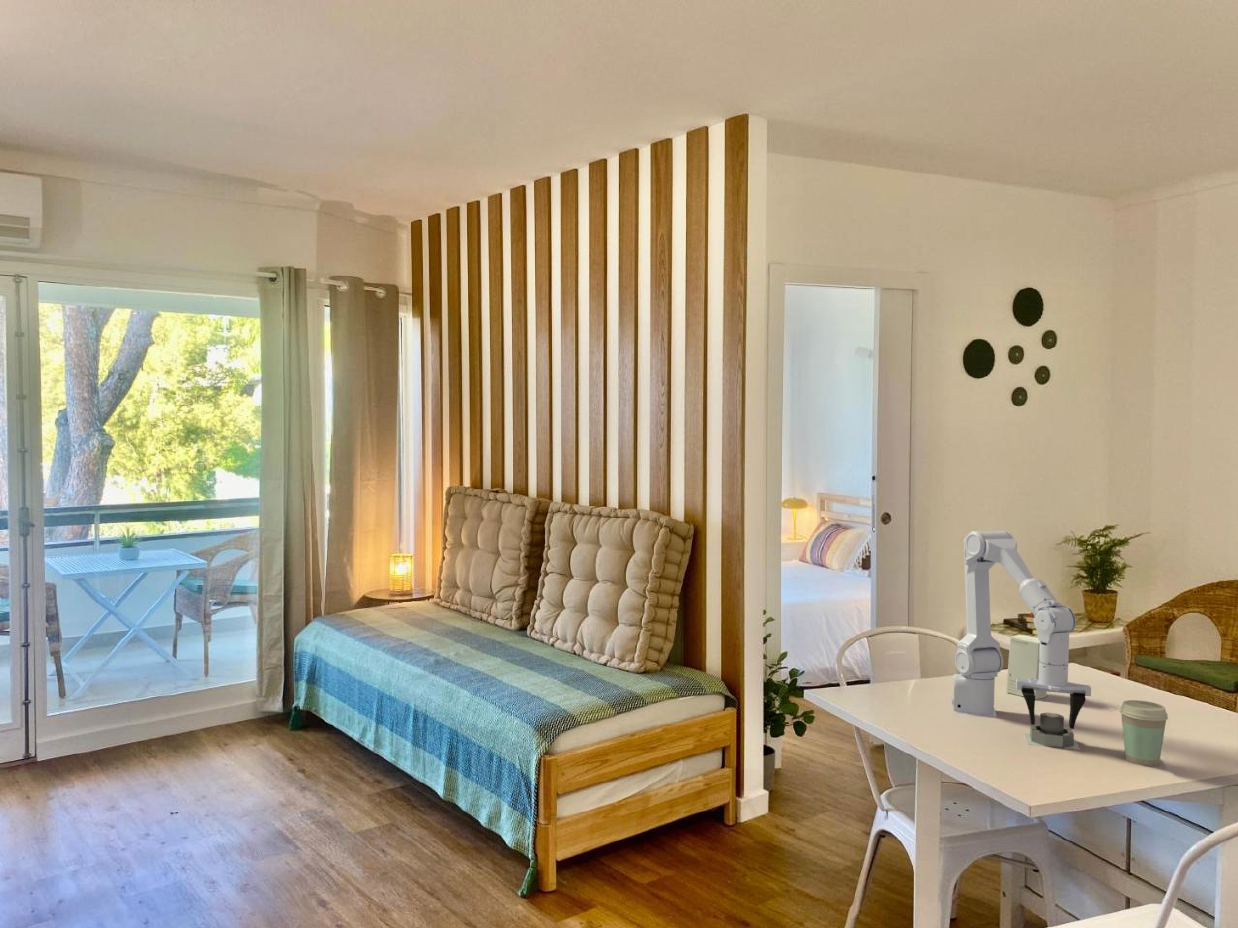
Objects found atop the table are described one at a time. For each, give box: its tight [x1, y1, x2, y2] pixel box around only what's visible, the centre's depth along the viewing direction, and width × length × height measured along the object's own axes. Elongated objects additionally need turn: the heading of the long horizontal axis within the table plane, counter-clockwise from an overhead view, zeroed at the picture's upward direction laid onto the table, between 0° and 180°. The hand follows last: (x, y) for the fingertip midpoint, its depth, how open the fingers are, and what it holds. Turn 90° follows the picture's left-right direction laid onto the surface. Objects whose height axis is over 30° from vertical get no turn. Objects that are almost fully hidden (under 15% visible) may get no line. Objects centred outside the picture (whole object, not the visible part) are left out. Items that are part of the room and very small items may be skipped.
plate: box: [1024, 732, 1081, 751], centre depth 200 cm, size 10×8×1 cm
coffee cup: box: [1119, 699, 1169, 767], centre depth 188 cm, size 9×8×12 cm
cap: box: [1039, 712, 1065, 735], centre depth 200 cm, size 5×5×5 cm
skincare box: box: [1005, 634, 1048, 701], centre depth 239 cm, size 8×6×15 cm
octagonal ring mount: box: [1029, 723, 1075, 749], centre depth 200 cm, size 8×8×2 cm
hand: (1051, 725), depth 200 cm, fingers open, 7 cm apart
